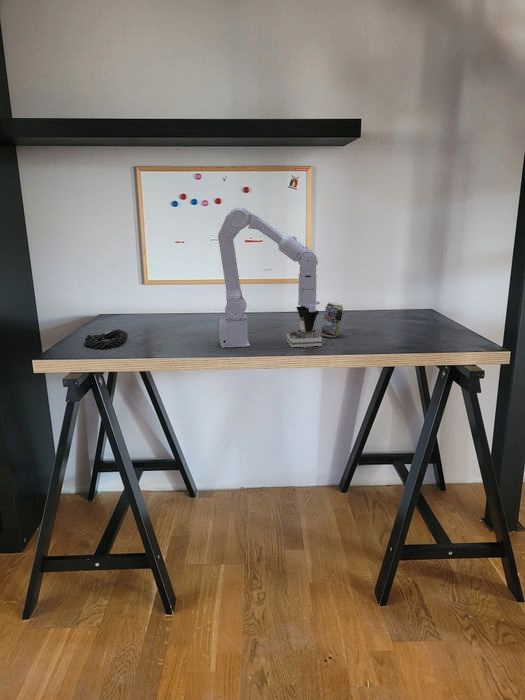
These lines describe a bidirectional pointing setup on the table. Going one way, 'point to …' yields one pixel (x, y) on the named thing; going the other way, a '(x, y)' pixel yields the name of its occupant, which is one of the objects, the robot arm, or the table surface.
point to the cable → (116, 334)
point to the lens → (303, 326)
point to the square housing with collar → (304, 338)
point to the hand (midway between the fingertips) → (307, 329)
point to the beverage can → (332, 319)
